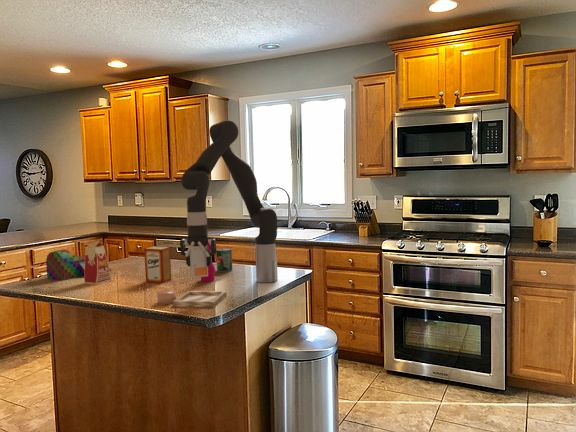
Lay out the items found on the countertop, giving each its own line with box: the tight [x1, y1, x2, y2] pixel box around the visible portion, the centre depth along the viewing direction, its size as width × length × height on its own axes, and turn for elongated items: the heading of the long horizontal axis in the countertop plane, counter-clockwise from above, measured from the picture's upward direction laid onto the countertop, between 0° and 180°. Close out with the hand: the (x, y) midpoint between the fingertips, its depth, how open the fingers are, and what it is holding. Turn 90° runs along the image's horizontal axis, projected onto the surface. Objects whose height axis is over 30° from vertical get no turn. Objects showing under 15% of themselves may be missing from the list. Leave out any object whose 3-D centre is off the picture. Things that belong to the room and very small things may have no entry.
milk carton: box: [83, 239, 113, 286], centre depth 228 cm, size 9×9×20 cm
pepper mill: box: [200, 242, 216, 283], centre depth 226 cm, size 7×7×20 cm
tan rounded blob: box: [156, 289, 177, 305], centre depth 189 cm, size 7×7×4 cm
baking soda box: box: [143, 245, 172, 284], centre depth 227 cm, size 10×6×16 cm
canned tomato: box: [215, 247, 233, 273], centre depth 249 cm, size 8×8×11 cm
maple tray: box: [172, 290, 228, 308], centre depth 189 cm, size 16×16×2 cm
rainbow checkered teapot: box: [45, 249, 112, 281], centre depth 247 cm, size 25×17×14 cm
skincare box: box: [188, 245, 208, 279], centre depth 187 cm, size 6×4×12 cm
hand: (198, 266), depth 188 cm, fingers closed on skincare box, 7 cm apart
